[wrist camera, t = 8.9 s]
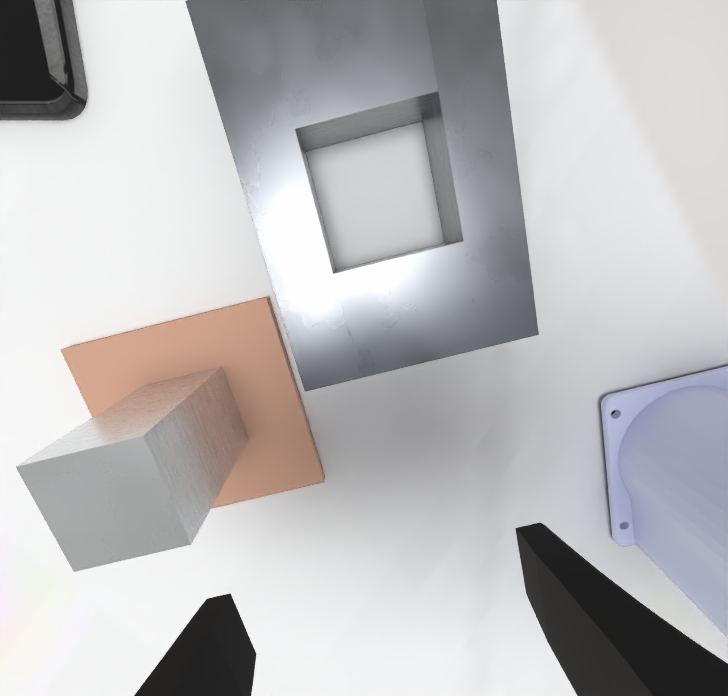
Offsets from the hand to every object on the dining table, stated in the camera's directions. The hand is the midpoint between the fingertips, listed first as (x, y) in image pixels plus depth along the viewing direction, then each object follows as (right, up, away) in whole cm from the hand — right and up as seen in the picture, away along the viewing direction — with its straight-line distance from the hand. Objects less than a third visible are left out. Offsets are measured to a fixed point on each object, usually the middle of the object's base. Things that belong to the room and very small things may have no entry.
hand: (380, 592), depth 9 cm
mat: (-9, +3, +10) cm, 13 cm away
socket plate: (0, +13, +7) cm, 15 cm away
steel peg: (-9, +3, +9) cm, 13 cm away
